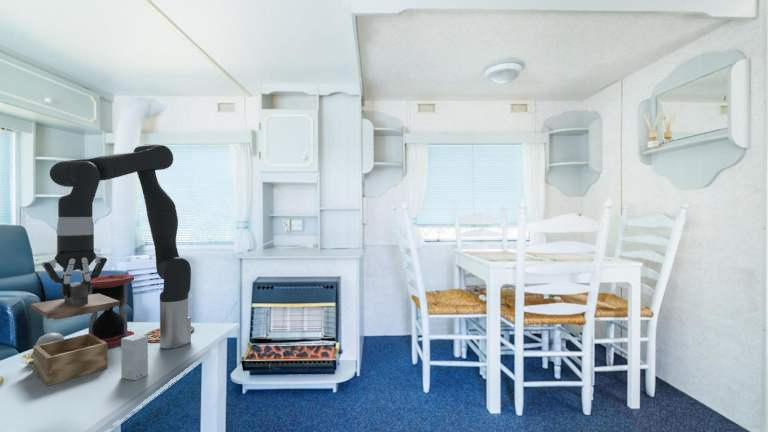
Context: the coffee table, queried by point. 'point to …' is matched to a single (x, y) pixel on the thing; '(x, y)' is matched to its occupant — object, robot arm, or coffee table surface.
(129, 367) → the skincare box
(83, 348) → the open wooden box
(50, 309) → the lid
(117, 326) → the hourglass
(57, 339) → the round bodied animal figurine
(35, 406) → the coffee table surface
